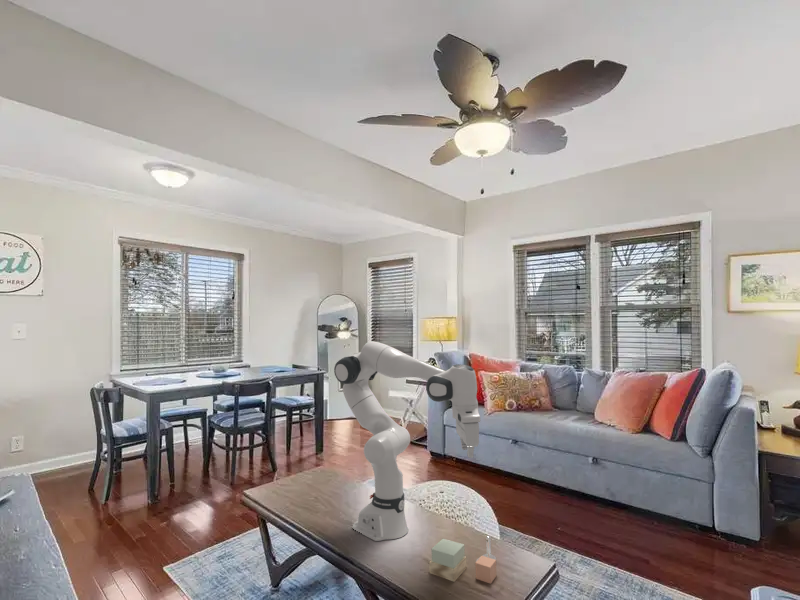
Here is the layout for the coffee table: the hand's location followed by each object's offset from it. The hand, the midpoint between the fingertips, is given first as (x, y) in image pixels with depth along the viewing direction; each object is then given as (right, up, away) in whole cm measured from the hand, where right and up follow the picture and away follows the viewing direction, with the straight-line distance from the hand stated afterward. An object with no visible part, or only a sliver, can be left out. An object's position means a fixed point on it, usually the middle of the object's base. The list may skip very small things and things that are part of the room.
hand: (467, 453), depth 149 cm
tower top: (-7, -33, -6) cm, 34 cm away
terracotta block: (+4, -36, -10) cm, 38 cm away
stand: (+6, -37, 0) cm, 37 cm away
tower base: (-7, -37, -6) cm, 38 cm away
